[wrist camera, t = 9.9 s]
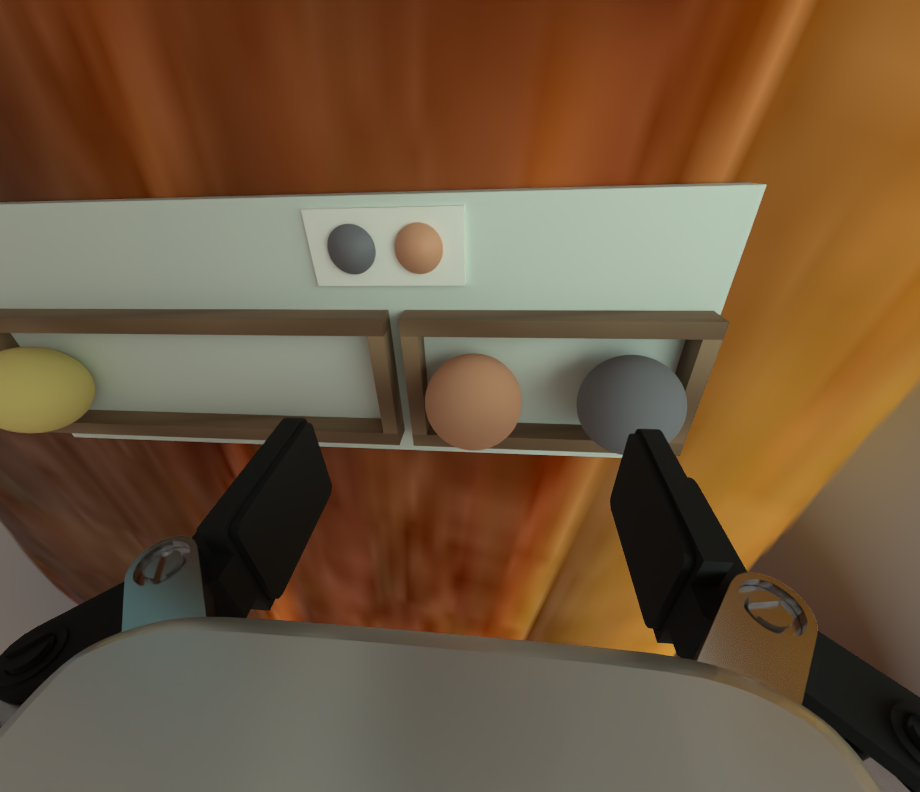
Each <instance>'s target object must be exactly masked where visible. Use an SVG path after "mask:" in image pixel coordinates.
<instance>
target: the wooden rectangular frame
mask: <svg viewBox="0 0 920 792" xmlns="http://www.w3.org/2000/svg"><path fill="white" fill-rule="evenodd" d="M398 322H399V330H400V338H401V346H402V354H403V363H404V371H405V379H406V387H407V395H408V403H409V411H410V420H411V428H412V436H413V444H414V446H433V447H454V446H452V445H450V444H448V443H447V442H445V441H444V440H443V439H442V438H440V437H439V436H438V434H437V433H436V432H435V431H434V429H433V428H432V426H431V424H430V422H429V420H428V417H427V414H426V409H425V395H426V390H427V387H428V382H427V371H426V359H425V348H424V337H482V338H584V339H686V340H685V343H684V347H683V350H682V353H681V356H680V359H679V362H678V366H677V369H676V372H675V374H676V376H677V377H678V378H679V380H680V382H681V383H682V385H683V387H684V390H685V393H686V397H687V414H686V419H685V422H684V424H683V426H682V428H681V430H680V432H679V433H678V434H677V436H676V437H675V438H674V439H673V440H672V441H671V442H670V443H669V445H670V447H671V449H672V451H673V452H674V454H675V455H677V456H680V453H681V450H682V448H683V445H684V442H685V440H686V437H687V434H688V432H689V429H690V426H691V424H692V421H693V418H694V416H695V413H696V410H697V408H698V405H699V402H700V400H701V397H702V394H703V392H704V389H705V386H706V384H707V381H708V378H709V375H710V373H711V370H712V367H713V365H714V362H715V359H716V357H717V354H718V351H719V349H720V346H721V343H722V341H723V338H724V335H725V333H726V330H727V327H728V325H729V321H727V320H726V319H724V318H723V317H722V316H720V315H719V314H718V313H716V312H715V311H634V310H404V312H403V314H402V315H401V317H400V318H399V320H398ZM487 449H514V450H541V451H568V452H595V453H613V452H610V451H608V450H606V449H604V448H602V447H601V446H599V445H597V444H596V443H595V442H594V441H593V440H592V439H591V438H590V437H589V436H588V435H587V434H586V432H585V431H584V429H583V428H582V426H581V425H579V424H546V423H517V424H516V426H515V428H514V429H513V431H512V432H511V433H510V434H509V435H508V437H507V438H506V439H504V440H503V441H502V442H500V443H499V444H497V445H495V446H493V447H490V448H487Z"/></svg>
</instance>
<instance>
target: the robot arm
mask: <svg viewBox="0 0 920 792" xmlns="http://www.w3.org/2000/svg"><path fill="white" fill-rule="evenodd" d="M331 490H332V484H331V481H330V477H329V474H328V471H327V468H326V465H325V462H324V459H323V456H322V453H321V450H320V446H319V443H318V440H317V437H316V434H315V431H314V428H313V425H312V424H311V423H308V422H307V420H306V419H305V418H289V417H286V418H284V419H282V420H281V422H280V423H279V424H278V426H277V427H276V428H275V429H274V431H273V432H272V433H271V434H270V436H269V437H268V438H267V440H266V441H265V442H264V443H263V445H262V446H261V447H260V449H259V450H258V451H257V452H256V454H255V455H254V456H253V458H252V459H251V460H250V461H249V463H248V464H247V465H246V466H245V468H244V469H243V470H242V472H241V473H240V474H239V475H238V477H237V478H236V479H235V481H234V482H233V483H232V484H231V486H230V487H229V488H228V490H227V491H226V492H225V493H224V495H223V496H222V497H221V498H220V500H219V501H218V502H217V504H216V505H215V506H214V507H213V509H212V510H211V511H210V513H209V514H208V515H207V516H206V518H205V519H204V520H203V522H202V523H201V524H200V525H199V527H198V528H197V532H196V533H195V535H194V536H193V537H192V538H190V537H187V536H175V537H170V538H167V539H165V540H162V541H160V542H158V543H156V544H154V545H152V546H151V547H149V548H148V549H147V550H145V551H144V552H143V553H141V554H140V555H139V556H138V557H137V558H136V559H135V560H134V561H133V562H132V564H131V566H130V567H129V569H128V570H127V573H126V576H125V580H124V582H123V583H121V584H119V585H117V586H115V587H113V588H111V589H109V590H107V591H105V592H103V593H101V594H100V595H98V596H96V597H94V598H92V599H90V600H88V601H86V602H84V603H82V604H80V605H78V606H76V607H74V608H72V609H71V610H69V611H67V612H65V613H63V614H61V615H59V616H57V617H55V618H53V619H51V620H49V621H47V622H45V623H44V624H42V625H40V626H38V627H36V628H34V629H33V630H31V631H30V632H28V633H26V634H24V635H23V636H22V637H20V638H19V639H18V640H17V641H15V642H14V643H13V644H12V645H10V646H9V647H8V648H7V649H6V650H5V651H4V652H3V654H1V656H0V792H920V697H918V696H917V695H915V694H914V693H912V692H910V691H909V690H907V689H906V688H904V687H903V686H901V685H900V684H898V683H897V682H895V681H894V680H892V679H891V678H889V677H887V676H886V675H885V674H883V673H882V672H880V671H878V670H877V669H875V668H874V667H872V666H871V665H869V664H868V663H866V662H865V661H863V660H861V659H860V658H859V657H857V656H855V655H854V654H852V653H851V652H849V651H848V650H846V649H845V648H843V647H842V646H840V645H838V644H837V643H836V642H834V641H833V640H831V639H829V638H828V637H826V636H825V635H823V634H822V633H820V632H819V631H817V622H816V619H815V617H814V615H813V612H812V611H811V609H810V608H809V607H808V605H807V604H806V603H805V602H804V600H803V599H802V598H801V597H800V596H799V595H798V594H797V593H796V592H795V591H793V590H792V589H790V588H789V587H788V586H786V585H785V584H783V583H782V582H780V581H778V580H776V579H774V578H772V577H769V576H767V575H763V574H759V573H755V572H753V573H748V572H747V571H746V569H745V567H744V565H743V563H742V562H741V560H740V558H739V556H738V555H737V553H736V551H735V549H734V548H733V546H732V544H731V542H730V541H729V539H728V537H727V535H726V533H725V532H724V530H723V528H722V526H721V525H720V523H719V521H718V519H717V518H716V516H715V514H714V512H713V511H712V509H711V507H710V505H709V504H708V502H707V500H706V498H705V496H704V495H703V493H702V491H701V489H700V488H699V486H698V484H697V483H696V482H695V480H693V479H692V478H687V476H686V474H685V473H684V471H683V469H682V467H681V465H680V463H679V462H678V460H677V458H676V456H675V454H674V452H673V451H672V449H671V447H670V445H669V443H668V442H667V440H666V438H665V436H664V434H663V432H662V431H661V430H659V429H637V430H636V431H635V434H632V433H631V434H629V436H628V439H627V442H626V445H625V449H624V452H623V456H622V459H621V463H620V466H619V470H618V473H617V477H616V480H615V484H614V487H613V491H612V494H611V499H610V505H611V511H612V514H613V517H614V521H615V524H616V528H617V531H618V534H619V538H620V541H621V545H622V548H623V551H624V555H625V558H626V561H627V565H628V568H629V572H630V575H631V578H632V582H633V585H634V589H635V592H636V595H637V599H638V602H639V605H640V609H641V612H642V616H643V619H644V622H645V624H646V626H647V627H648V628H653V630H654V634H655V637H656V640H657V643H670V644H674V647H675V650H676V653H677V655H678V656H680V657H681V658H679V657H673V656H666V655H660V654H654V653H645V652H636V651H626V650H617V649H608V648H598V647H589V646H578V645H567V644H556V643H545V642H534V641H523V640H512V639H500V638H489V637H478V636H466V635H454V634H443V633H431V632H419V631H407V630H395V629H383V628H371V627H359V626H346V625H333V624H321V623H308V622H295V621H283V620H267V619H250V618H246V617H247V615H248V613H249V611H250V609H257V610H269V611H270V609H271V607H272V605H273V603H274V601H275V599H278V598H280V597H281V595H282V594H283V592H284V590H285V588H286V586H287V584H288V582H289V580H290V578H291V576H292V574H293V571H294V569H295V567H296V565H297V563H298V561H299V559H300V557H301V555H302V553H303V551H304V549H305V547H306V544H307V542H308V540H309V538H310V536H311V534H312V532H313V530H314V528H315V526H316V524H317V522H318V519H319V517H320V515H321V513H322V511H323V509H324V507H325V505H326V503H327V501H328V499H329V497H330V494H331Z"/></svg>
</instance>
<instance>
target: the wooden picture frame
mask: <svg viewBox="0 0 920 792" xmlns="http://www.w3.org/2000/svg"><path fill="white" fill-rule="evenodd" d="M11 333H72V334H175V335H277V336H367V341H368V347H369V353H370V358H371V364H372V370H373V376H374V381H375V387H376V393H377V399H378V404H379V410H380V416H381V418H349V417H316V416H283V415H250V414H217V413H184V412H151V411H118V410H88V411H87V412H86V413H85V414H84V415H83V416H82V417H81V418H79V419H78V420H77V421H75V422H73V423H72V424H70V425H68V426H65V427H63V428H60V429H57V430H53V431H48V432H54V433H81V434H108V435H135V436H162V437H189V438H216V439H243V440H267V438H268V437H269V436H270V434H271V433H272V432H273V431H274V429H275V428H276V427H277V426H278V424H279V423H280V422H281V420H282V419H284V418H286V417H289V418H305V419H306V420H307V422H308V423H311V424H312V425H313V428H314V431H315V434H316V437H317V440H318V442H325V443H352V444H379V445H400V443H401V440H402V437H403V434H404V431H405V428H404V420H403V413H402V405H401V398H400V391H399V383H398V376H397V368H396V361H395V354H394V346H393V339H392V331H391V324H390V317H389V310H304V309H0V351H2V350H6V349H11V348H16V347H20V346H19V344H18V343H17V342H16V340H15V339H14V337H13V336H12V335H11Z"/></svg>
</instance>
